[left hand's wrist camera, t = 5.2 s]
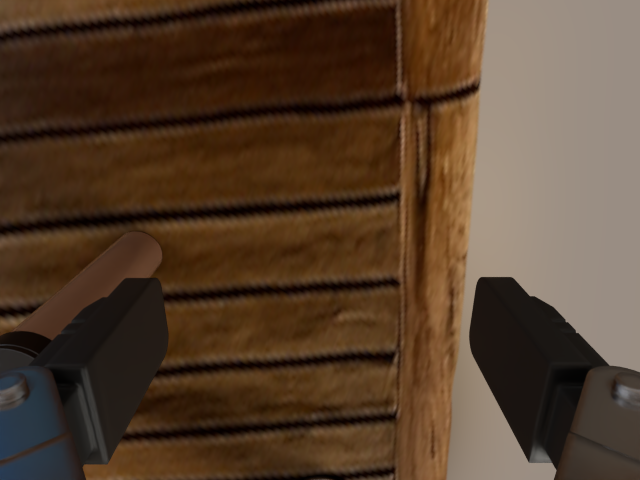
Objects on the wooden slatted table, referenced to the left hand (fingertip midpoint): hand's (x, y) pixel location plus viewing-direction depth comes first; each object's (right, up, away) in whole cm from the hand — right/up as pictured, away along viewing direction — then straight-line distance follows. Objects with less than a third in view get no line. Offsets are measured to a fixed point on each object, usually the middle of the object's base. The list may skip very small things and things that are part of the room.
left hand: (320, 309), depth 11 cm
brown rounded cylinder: (-18, 0, +31) cm, 36 cm away
